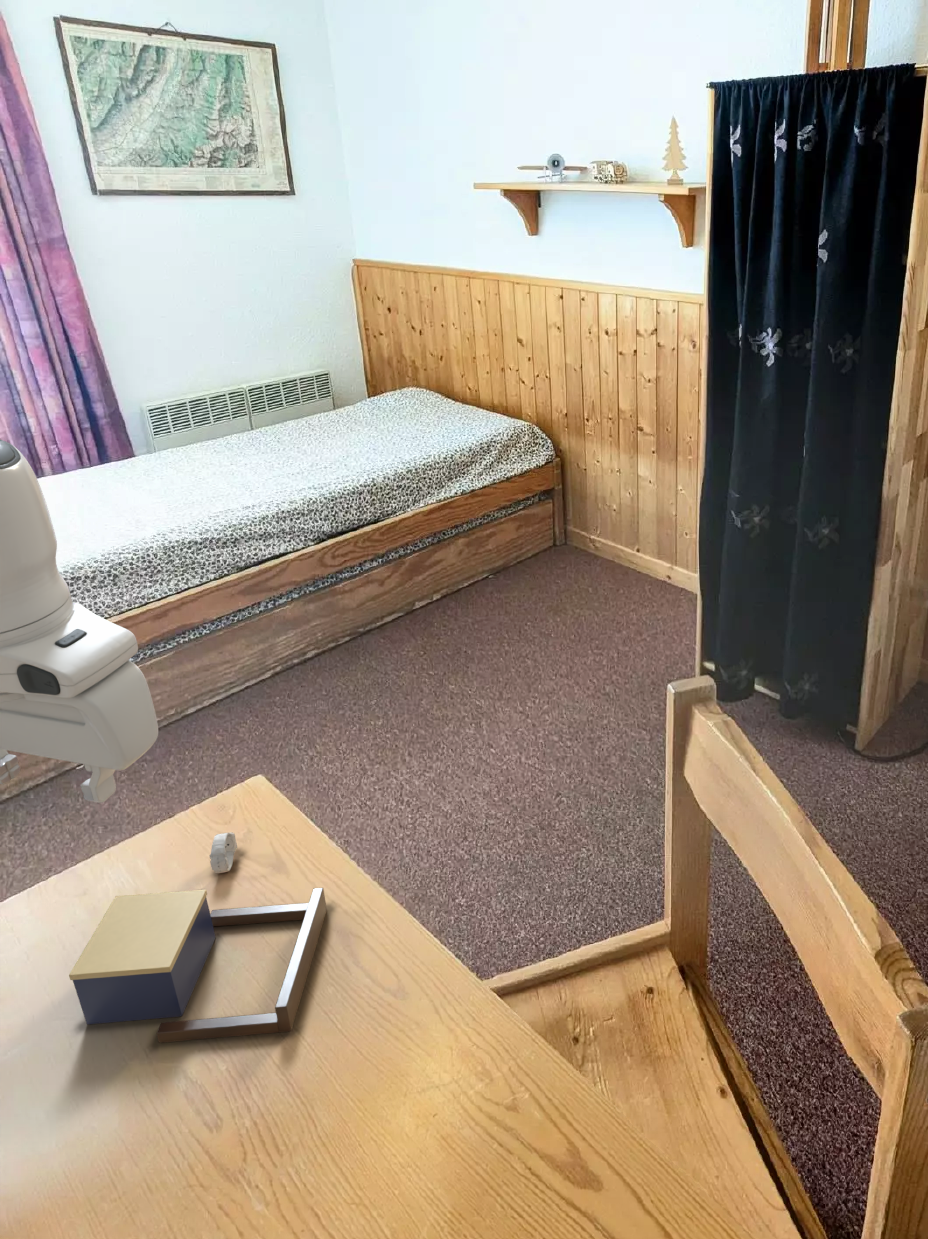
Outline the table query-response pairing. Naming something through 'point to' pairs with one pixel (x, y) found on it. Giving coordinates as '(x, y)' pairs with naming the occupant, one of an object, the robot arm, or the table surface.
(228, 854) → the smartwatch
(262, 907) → the bay
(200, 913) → the toy box
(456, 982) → the table surface
